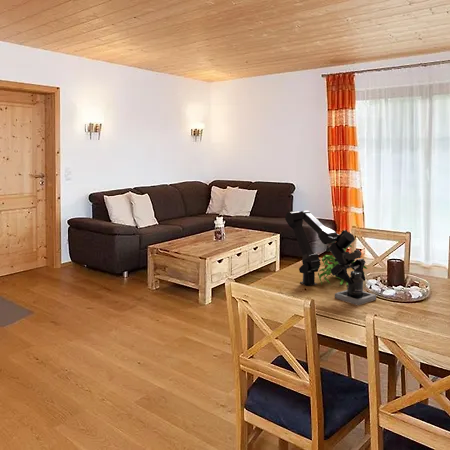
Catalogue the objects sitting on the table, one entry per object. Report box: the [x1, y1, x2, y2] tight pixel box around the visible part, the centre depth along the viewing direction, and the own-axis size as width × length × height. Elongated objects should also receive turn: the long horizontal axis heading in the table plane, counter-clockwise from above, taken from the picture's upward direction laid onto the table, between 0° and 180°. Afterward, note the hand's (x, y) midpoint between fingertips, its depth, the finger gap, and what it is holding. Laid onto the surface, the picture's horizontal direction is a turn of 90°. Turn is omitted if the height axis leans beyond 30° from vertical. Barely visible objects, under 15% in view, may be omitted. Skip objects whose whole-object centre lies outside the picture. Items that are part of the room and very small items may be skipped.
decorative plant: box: [317, 244, 368, 286], centre depth 233 cm, size 26×25×30 cm
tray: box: [334, 289, 377, 306], centre depth 206 cm, size 13×13×2 cm
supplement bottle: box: [346, 270, 364, 299], centre depth 205 cm, size 7×7×12 cm
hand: (358, 282), depth 203 cm, fingers open, 9 cm apart
